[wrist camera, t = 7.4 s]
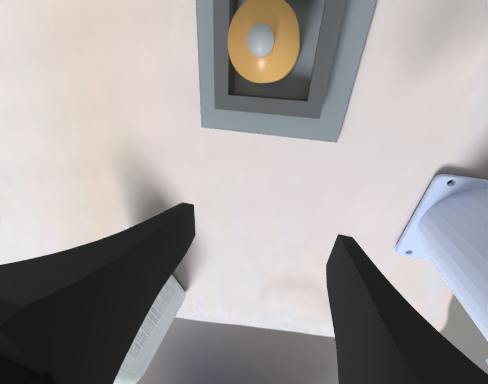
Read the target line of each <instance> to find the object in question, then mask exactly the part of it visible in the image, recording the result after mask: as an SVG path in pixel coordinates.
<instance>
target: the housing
mask: <svg viewBox="0 0 488 384" xmlns="http://www.w3.org/2000/svg"><path fill="white" fill-rule="evenodd" d="M246 1H247V0H196V16H197V38H198V60H199V82H200V104H201V126H202V127H203V128H212V129H221V130H230V131H239V132H248V133H257V134H266V135H275V136H283V137H292V138H301V139H310V140H319V141H328V142H337V141H338V137H339V134H340V130H341V127H342V123H343V119H344V116H345V112H346V109H347V105H348V101H349V98H350V94H351V91H352V87H353V83H354V80H355V76H356V73H357V69H358V65H359V62H360V58H361V55H362V51H363V47H364V44H365V40H366V37H367V33H368V29H369V26H370V22H371V19H372V15H373V11H374V8H375V4H376V1H377V0H284V1H286V2H287V3H288V4H289V6H290V7H291V8H292V10H293V11H294V13H295V15H296V18H297V21H298V25H299V39H300V53H299V59H298V62H297V64H296V66H295V68H294V70H293V71H292V72H291V73H290V74H289V75H288V76H287V77H286V78H284V79H283V80H280V81H277V82H269V83H255V82H252V81H249V80H247V79H245V78H244V77H243V76H241V75H240V74H239V73H238V72H237V70H236V69H235V67H234V66H233V64H232V62H231V59H230V56H229V52H228V32H229V27H230V24H231V21H232V19H233V17H234V15H235V13H236V12H237V10H238V9H239V8H240V7H241V6H242V4H244V3H245V2H246Z"/></svg>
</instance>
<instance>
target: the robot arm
mask: <svg viewBox="0 0 488 384" xmlns="http://www.w3.org/2000/svg"><path fill="white" fill-rule="evenodd" d="M450 180H452V182H451V183H449V184H447V182H448V181H450ZM194 237H195V218H194V205H193V204H188V203H181V204H179V205H176V206H174V207H172V208H170V209H168V210H166V211H164V212H162V213H160V214H158V215H156V216H154V217H152V218H150V219H148V220H146V221H144V222H142V223H140V224H137V225H135V226H133V227H131V228H129V229H126V230H124V231H122V232H119V233H117V234H114V235H111V236H109V237H106V238H103V239H100V240H98V241H95V242H91V243H88V244H85V245H82V246H78V247H75V248H72V249H69V250H65V251H61V252H57V253H54V254H50V255H45V256H41V257H37V258H33V259H28V260H24V261H19V262H13V263H8V264H3V265H0V384H113V383H114V381H115V378H116V376H117V374H118V372H119V370H120V368H121V365H122V363H123V361H124V359H125V357H126V355H127V353H128V351H129V349H130V347H131V345H132V343H133V341H134V339H135V337H136V335H137V333H138V331H139V329H140V327H141V325H142V323H143V321H144V320H145V318H146V316H147V314H148V312H149V310H150V308H151V307H152V305H153V303H154V301H155V299H156V298H157V296H158V294H159V293H160V291H161V289H162V288H163V286H164V285H165V283H166V282H167V281H168V279H169V278H170V276H171V275H172V273H173V272H174V270H175V269H176V267H177V266H178V264H179V263H180V261H181V260H182V258H183V257H184V255H185V254H186V252H187V251H188V249H189V247H190V245H191V243H192V241H193V239H194ZM407 250H410V251H407ZM395 251H396V253H397V254H399V255H404V256H409V257H414V258H419V259H425V260H430V261H431V262H432V264H433V265H434V266H435V268H436V269H437V271H438V272H439V273H440V275H441V276H442V278H443V279H444V280H445V282H446V283H447V285H448V286H449V287H450V289H451V290H452V292H453V293H454V294H455V296H456V297H457V299H458V300H459V301H460V303H461V304H462V305H463V307H464V308H465V310H466V311H467V313H468V314H469V315H470V317H471V318H472V319H473V321H474V322H475V324H476V325H477V327H478V328H479V330H480V331H481V332H482V334H483V335H484V337H485V338H486V339H487V341H488V179H480V178H472V177H464V176H457V175H449V174H440V175H437V176H436V177H435V178H434V179H433V180H432V182H431V184H430V186H429V188H428V189H427V191H426V193H425V195H424V197H423V198H422V200H421V202H420V204H419V206H418V207H417V209H416V211H415V213H414V215H413V216H412V218H411V220H410V222H409V224H408V225H407V227H406V229H405V231H404V233H403V234H402V236H401V238H400V240H399V241H398V243H397V245H396V247H395ZM326 276H327V290H328V296H329V303H330V309H331V315H332V321H333V327H334V333H335V340H336V348H337V362H338V377H339V384H488V374H486V373H485V372H484V371H483V370H481V369H480V368H479V367H478V366H477V365H475V364H474V363H473V362H472V361H471V360H470V359H469V358H467V357H466V356H465V355H464V354H463V353H462V352H461V351H459V350H458V349H457V348H456V347H455V346H453V345H452V344H451V343H450V342H449V341H448V340H447V339H446V338H444V337H443V336H442V335H441V334H440V333H439V332H438V331H437V330H436V329H435V328H434V327H433V326H432V325H431V324H430V323H429V322H427V321H426V320H425V319H424V318H423V317H422V316H421V315H420V314H419V313H418V312H417V311H416V310H415V309H414V308H413V307H412V306H411V305H410V304H409V303H408V302H407V301H406V300H405V299H404V297H403V296H402V295H401V294H400V293H399V292H398V291H397V290H396V289H395V288H394V287H393V286H392V284H391V283H390V282H389V281H388V280H387V279H386V278H385V276H384V275H383V274H382V273H381V272H380V271H379V269H378V268H377V267H376V266H375V265H374V263H373V262H372V261H371V260H370V258H369V257H368V256H367V255H366V253H365V252H364V251H363V250H362V248H361V247H360V246H359V245H358V243H357V242H356V241H355V240H354V239H353V237H349V236H344V235H339V234H338V236H337V239H336V241H335V244H334V247H333V249H332V252H331V254H330V257H329V259H328V262H327V265H326ZM486 362H487V364H488V359H486Z"/></svg>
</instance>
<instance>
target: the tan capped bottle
mask: <svg viewBox="0 0 488 384" xmlns="http://www.w3.org/2000/svg"><path fill="white" fill-rule="evenodd" d="M228 52H229V56H230V59H231V62H232V64H233V66H234V67H235V69H236V70H237V72H238V73H239V74H240V75H241V76H243V77H244V78H245V79H247V80H249V81H252V82H255V83H269V82H277V81H280V80H283V79H284V78H286V77H287V76H288V75H289V74H290V73H291V72H292V71H293V70H294V68H295V66H296V64H297V62H298V59H299V53H300V39H299V25H298V21H297V18H296V15H295V13H294V11H293V10H292V8H291V7H290V6H289V4H288V3H287V2H286V1H284V0H247V1H246V2H245V3H244V4H242V6H241V7H240V8H239V9H238V10H237V12H236V13H235V15H234V17H233V19H232V21H231V24H230V27H229V32H228Z"/></svg>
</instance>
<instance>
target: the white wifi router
mask: <svg viewBox="0 0 488 384" xmlns="http://www.w3.org/2000/svg"><path fill="white" fill-rule="evenodd" d="M185 297H186V294H185V292H184V290H183V289H182V287H181V286H180V284H179V283H178V282H177V280H176V279H175V278H174V276H173V275H171V276H170V278H169V279H168V281H167V282H166V283H165V285H164V286H163V288H162V289H161V291H160V293H159V294H158V296H157V298H156V299H155V301H154V303H153V305H152V307H151V308H150V310H149V312H148V314H147V316H146V318H145V320H144V321H143V323H142V325H141V327H140V329H139V331H138V333H137V335H136V337H135V339H134V341H133V343H132V345H131V347H130V349H129V351H128V353H127V355H126V357H125V359H124V361H123V363H122V365H121V368H120V370H119V372H118V374H117V376H116V378H115V381H114V383H113V384H136V383H137V382H138V381H139V379H140V378H141V377H142V376H143V374H144V373H145V371H146V369H147V368H148V366H149V364H150V362H151V360H152V358H153V356H154V355H155V353H156V351H157V349H158V347H159V345H160V344H161V341H162V340H163V338H164V336H165V334H166V332H167V330H168V329H169V327H170V325H171V323H172V321H173V319H174V318H175V316H176V314H177V312H178V310H179V308H180V307H181V305H182V303H183V301H184V299H185Z"/></svg>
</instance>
